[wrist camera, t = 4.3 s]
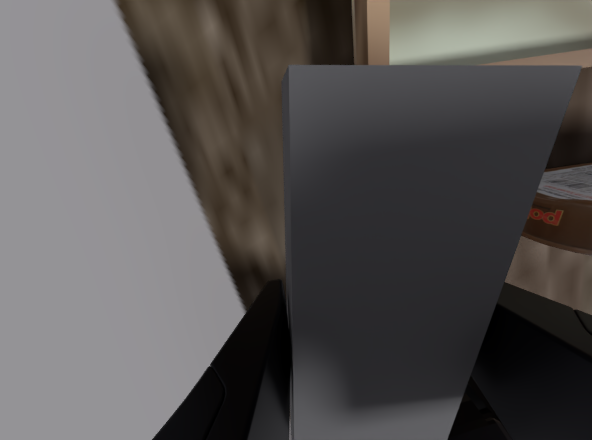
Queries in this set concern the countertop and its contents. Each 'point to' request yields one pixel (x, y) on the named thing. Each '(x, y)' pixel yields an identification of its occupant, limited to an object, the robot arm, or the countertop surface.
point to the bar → (403, 232)
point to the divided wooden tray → (472, 32)
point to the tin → (563, 209)
